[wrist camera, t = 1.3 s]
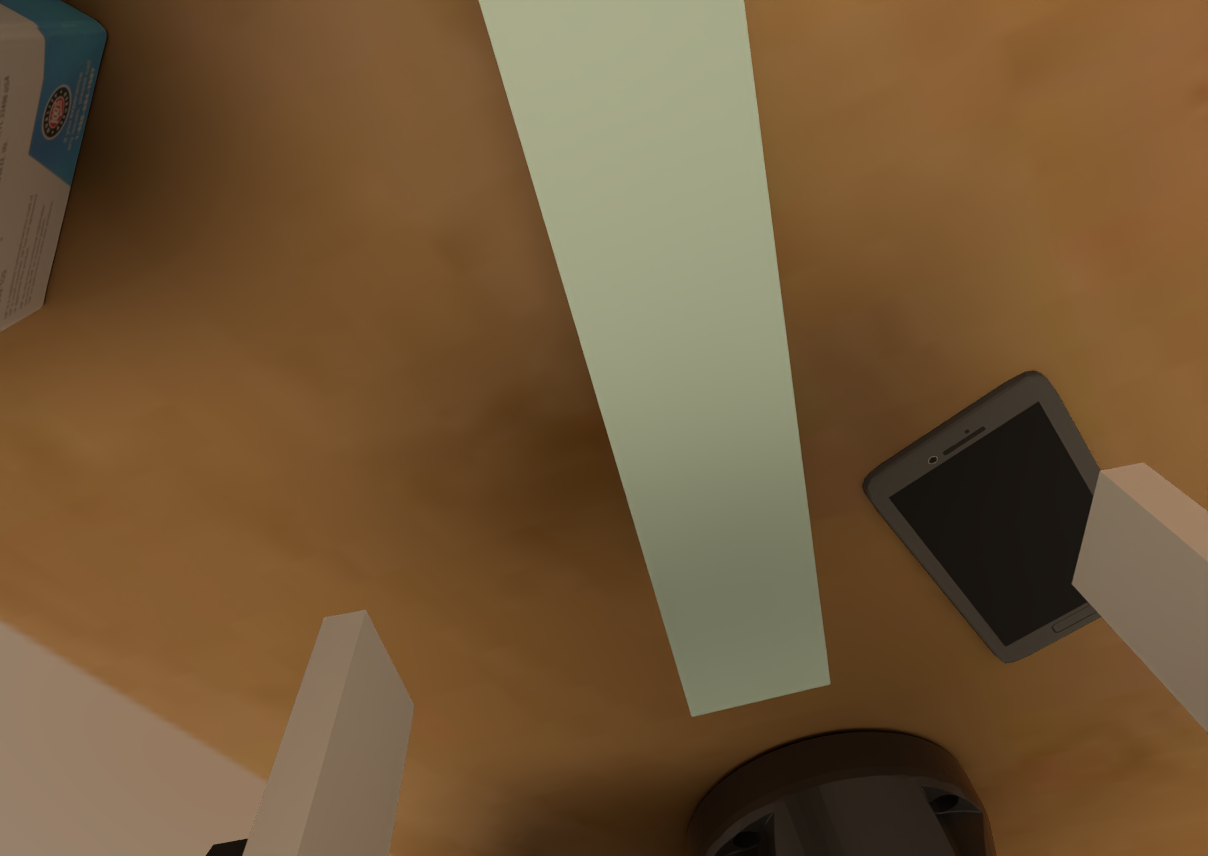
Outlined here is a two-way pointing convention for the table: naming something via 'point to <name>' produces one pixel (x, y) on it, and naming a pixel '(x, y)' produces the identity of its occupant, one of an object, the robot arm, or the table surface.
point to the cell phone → (998, 513)
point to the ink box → (39, 137)
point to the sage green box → (677, 316)
